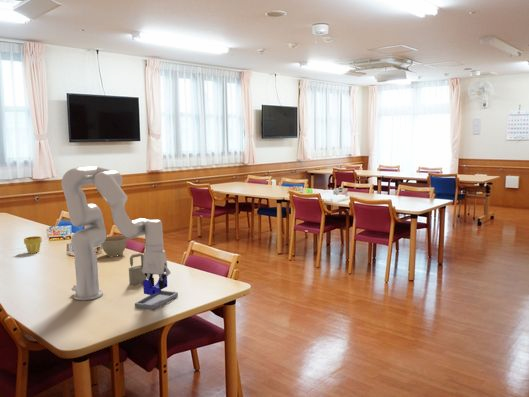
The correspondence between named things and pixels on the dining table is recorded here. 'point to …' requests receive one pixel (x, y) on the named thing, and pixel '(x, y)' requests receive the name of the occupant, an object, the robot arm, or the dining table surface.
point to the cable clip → (152, 287)
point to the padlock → (136, 271)
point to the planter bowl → (114, 245)
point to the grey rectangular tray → (156, 300)
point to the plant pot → (33, 243)
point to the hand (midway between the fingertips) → (156, 287)
